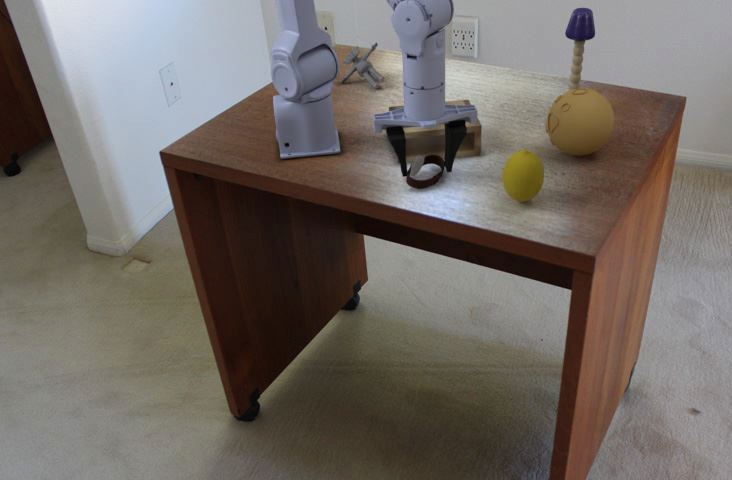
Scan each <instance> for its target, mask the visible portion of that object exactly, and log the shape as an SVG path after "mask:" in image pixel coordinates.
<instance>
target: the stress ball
mask: <svg viewBox="0 0 732 480" xmlns="http://www.w3.org/2000/svg"><path fill="white" fill-rule="evenodd" d="M544 126H545V132H546V134H547V135H548V137H549V139H548V140H549V142H550V143H551V144H552V146H555V148H557V149H558V150H559V151H561V152H563V153H565V154H567V155H570V156H575V157H576V156H577V157H578V156H587V155H591V154H593V153H595V152H597V151H598V150H600V149H601V148H602V147H604V145H606V144H607V142H608V141H609V140H610V137H611V136H612V134H613V132H614V126H615V114H614V110H613V107H612V105H611V103H610V102H609V100H608V99H607V97H605V96H604V95H603V94H601V91H600V90H598V89H597V88H594V87H590V86H587V87H586V88H584V87H579V88H578V89H573V90H570V91H569V90H568V91H566V92H564V93H563V94H560V95H559V96H558V97H556V98H555V100H554V101H553V103H552V104H551V106H550V108H549V110H548V113H547V116H546V122H545V125H544Z"/></svg>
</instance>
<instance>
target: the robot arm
mask: <svg viewBox="0 0 732 480" xmlns="http://www.w3.org/2000/svg"><path fill="white" fill-rule="evenodd" d="M385 1H386V2H387V4H388V6H390V8H391V9H392V11H393V14H391V15H390V22H391V25H392V28H393V30H394V32H395V34H396V35H397V38H398V40H399V49H401V59H402V60H401V61H402V87H403V88H402V90H403V106H404V108H401V109H397V110H393V111H389V110H388V111H385V112H380V113H373V114H372V128H373V132H374V133H375V134H377V133H378V134H379V133H383V131H385V132H386V137H387V139H388V141H389V144H390V146H391V147H392V149H393V151H394V154H395V153H396V155H397V157H398V159H399V162H400V163H399V166H400V173H401V177H403V178H404V177H406V178H407V172H408V165H407V163H408V162H407V163H406V138H405V134H404V129H403V128H408V127H421V128H422V129H431V128H436V125H440V124H444V127H445V158H444V159H443V160H444V161H445V168H444V169H445V170H446V173H452V172H453V166H454V162H455V159H456V158H455V156H456V153H457V151H458V149H459V147H460V145H461V143H462V141H463V140H464V138H465V137H466V134H467V127H466V122H469V123H477V117H478V109H477V106H476V105H475V104H471V105H448V104H445V102H446V27H448V25H450V23H451V22H452V20H453V17H454V13H455V5H454V1H453V0H385ZM275 5H276V11H277V16H278V21H279V27H280V33H279V35H278V37H277V38H276V40H275V42H274V44H272V46H271V49H270V55H271V68H270V77H271V82H272V85H273V86H274V88H275V90H276V92H277V93H278V94H276V95H272V96H273V97H272V102H273V113H274V120H275V126H276V130H275V138H276V141H277V142H278V147H279V155H280V159H282V160H283V159H284V160H285V159H293V158H304V157H314V156H323V155H324V156H326V155H335V154H340V153H341V148H340V146H341V145H340V139H339V138H340V137H339V132H338V129H336V123H335V111H334V102H333V91H332V90H333V88H335V83H334V82H335V80H336V79H337V78H338V76H339V75H340V69H341V66H340V65H341V64H340V59H339V56H338V55H337V52H336V50H335V48H334V46H333V43H332V36H331V34H329V33H328V32H327V31H326V30H324V29H322V28H321V27H320V26H319V25H318V24H319V23H318V17H317V13H316V6H315V0H275ZM396 155H395V156H396Z"/></svg>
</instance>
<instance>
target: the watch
mask: <svg viewBox="0 0 732 480" xmlns="http://www.w3.org/2000/svg"><path fill="white" fill-rule="evenodd" d="M410 163H411V164H410V165H409V168H408V169H407V176H406V180H405V182H406V184H407V186H409V187H410V188H412V189H416V190H423V189H428V188H429V187H433V186H435V185H437V184H438V183H439V182H440V180H441V179H442V177H443V176H444V175H443V174H444V172H445V169H446V168H445V160H444V159H443V158H442V157H440V156H438V155H428V156H425V157H424V158H423V157H422V156H418V157H416V158H415V159H414V160H413V162H410ZM426 165H436V166H438V167H439V168H440V171H439V172H437V174H435V175H432V177H430V178H427V179H416V178H413V177H416V176H417V175H418V173H419V172H420V171H421V169H422V168H423V167H424V166H426Z"/></svg>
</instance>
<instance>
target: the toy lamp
mask: <svg viewBox="0 0 732 480" xmlns="http://www.w3.org/2000/svg"><path fill="white" fill-rule="evenodd" d="M564 36H565V37H566V38H567V39H569V40H572V41H573V44H574V47H573V49H572V52H573V55H572V58H571V62H572V65H571V67H570V75H569V81H570V82H569V83H568V91H570V90H573V89H578V88H581V87H580V86H581V85H580V81H581V79H582V75H581V73H582V70H583V65H582V64H583V62H584V56H583V55H584V53H585V44H586V41H590V40H593V38H595V36H596V25H595V19H594V13H593V10H592V9H591V8H589V7H577V8H575V9H573V11H572V13H571V15H570V17H569V21H568V24H567V26H566V29H565V35H564Z"/></svg>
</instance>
